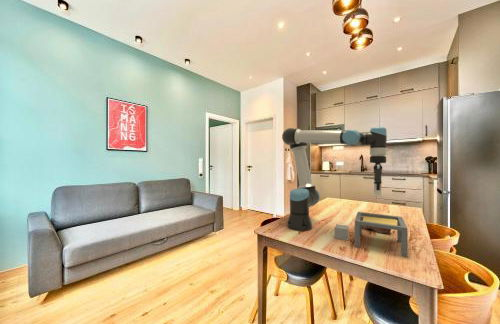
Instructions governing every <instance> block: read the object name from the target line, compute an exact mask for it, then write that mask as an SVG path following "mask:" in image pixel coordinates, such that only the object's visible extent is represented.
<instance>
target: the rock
mask: <svg viewBox="0 0 500 324" xmlns="http://www.w3.org/2000/svg"><path fill="white" fill-rule="evenodd" d="M363 217H364V216H362V221H363ZM366 217H368V216H366ZM362 228H363V229H369V230H371V231H373V232H376V233H378V234H380V233H381V234H383V233H384V234H385V233H387V234H390V233H391V232H392V229H385V228H379V227H372V226H365V225H362Z"/></svg>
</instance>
